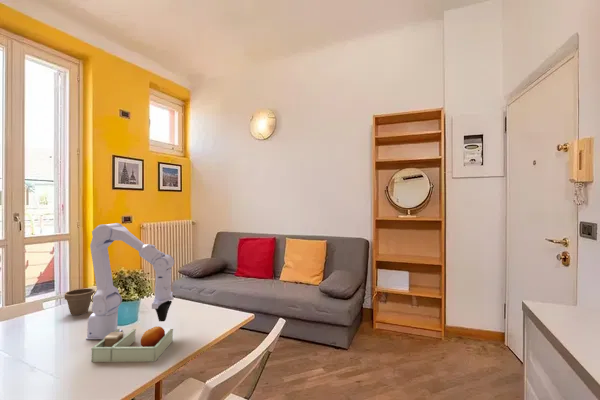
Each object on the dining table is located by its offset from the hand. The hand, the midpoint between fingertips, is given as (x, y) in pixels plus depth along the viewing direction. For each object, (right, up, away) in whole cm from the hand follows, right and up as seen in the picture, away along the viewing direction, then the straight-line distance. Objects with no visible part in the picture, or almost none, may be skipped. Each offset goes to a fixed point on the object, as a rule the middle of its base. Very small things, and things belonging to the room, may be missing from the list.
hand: (162, 320), depth 115 cm
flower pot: (-50, -6, +23) cm, 55 cm away
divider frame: (-4, -6, -11) cm, 13 cm away
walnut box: (-11, -6, -13) cm, 18 cm away
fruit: (+1, -6, -8) cm, 10 cm away
